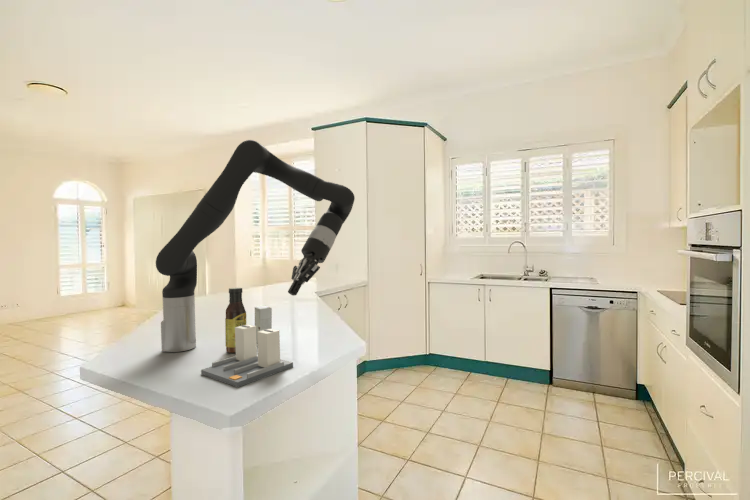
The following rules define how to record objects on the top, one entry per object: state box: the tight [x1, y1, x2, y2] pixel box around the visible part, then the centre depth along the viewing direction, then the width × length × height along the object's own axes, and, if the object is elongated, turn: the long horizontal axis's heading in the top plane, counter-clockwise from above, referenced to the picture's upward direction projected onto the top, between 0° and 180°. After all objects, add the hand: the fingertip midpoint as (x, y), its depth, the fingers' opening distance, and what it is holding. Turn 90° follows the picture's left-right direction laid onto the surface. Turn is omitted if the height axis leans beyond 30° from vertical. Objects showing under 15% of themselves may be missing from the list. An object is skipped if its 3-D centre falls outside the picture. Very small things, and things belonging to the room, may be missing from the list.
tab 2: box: [257, 328, 281, 368], centre depth 97 cm, size 4×4×9 cm
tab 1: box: [235, 324, 258, 361], centre depth 103 cm, size 4×4×9 cm
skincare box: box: [254, 305, 273, 344], centre depth 127 cm, size 6×4×12 cm
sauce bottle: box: [224, 287, 247, 354], centre depth 117 cm, size 7×6×20 cm
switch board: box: [200, 352, 294, 388], centre depth 98 cm, size 17×16×2 cm
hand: (291, 294), depth 104 cm, fingers closed
